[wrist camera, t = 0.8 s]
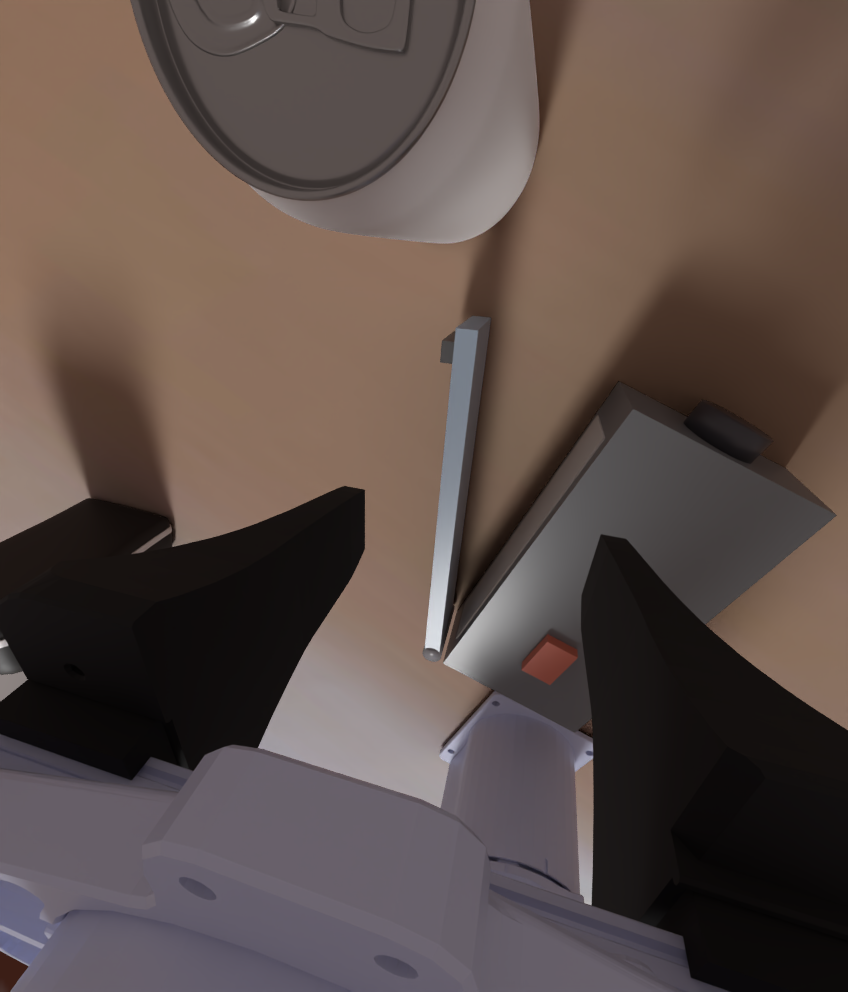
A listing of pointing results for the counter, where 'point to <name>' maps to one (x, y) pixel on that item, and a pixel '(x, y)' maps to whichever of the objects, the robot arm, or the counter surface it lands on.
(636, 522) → the grey rectangular box
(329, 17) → the can
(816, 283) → the counter surface
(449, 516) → the grey bar handle
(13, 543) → the battery charger
